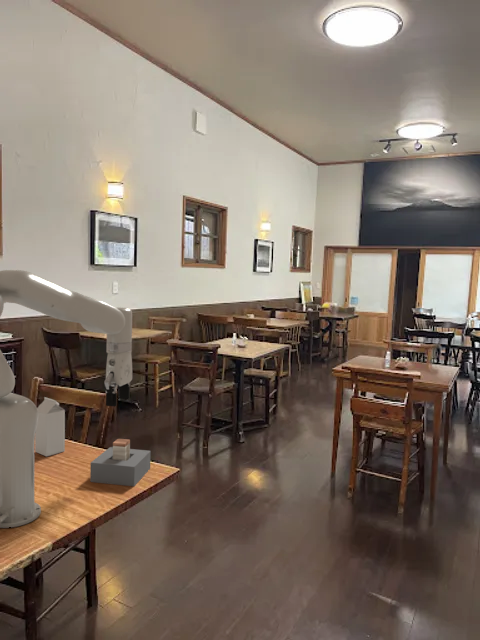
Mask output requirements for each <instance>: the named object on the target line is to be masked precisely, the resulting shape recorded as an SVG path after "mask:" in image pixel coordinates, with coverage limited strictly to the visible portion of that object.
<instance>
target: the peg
mask: <svg viewBox="0 0 480 640" xmlns="http://www.w3.org/2000/svg"><path fill="white" fill-rule="evenodd" d="M112 447H113V460H124V461H127V460H129V459H130V449H131V439H126V438H125V439H124V438H117V439H115V441H113V442H112Z"/></svg>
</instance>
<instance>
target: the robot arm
mask: <svg viewBox="0 0 480 640" xmlns="http://www.w3.org/2000/svg"><path fill="white" fill-rule="evenodd" d="M6 303H9V304H17V305H20V306H23V307H25V308H28V309H30V310H33V311H36V312H39V313H42V314H44V315H45V316H47V317H50V318H53V319H57V320H61V321H65V322H70V323H71V322H72V323H78V324H80V326H81V327H82V328H83V329H84V330H86V331H87V332H91V333H94V334H95V333H97V334H104V335H105V334H106V354H107V357H106V364H105V365H106V367H105V380H104V381H103V382H104V389H105V391H104V392H105V406H106V407H117V405H118V403H117V402H118V399H117V397H119V399H124V400H129V399H130V397H131V396H130V392H131V391H130V389H131V387H130V386H131V381H132V380H133V359H132V358H133V357H132V351H133V350H132V348H133V347H132V344H133V343H132V342H133V338H132V336H133V334H132V333H133V311H132V309H131V308H128V307H115V306H112V305H110V304H108V303H106V302H104V301H101V300H98V299H97V298H93V297H90V296H88V295H84V294H83V293H82V294H81V293H79V292H77V291H73V290H71V289H68V288H66V287H63V286H61V285H59V284H56V283H54V282H52V281H49V280H48V279H46V278H43V277H41V276H39V275H36V274H35V273H32V272H29V271H27V270H19V269H17V270H14V269H8V270H7V269H6V270H5V269H3V270H0V317H1V316H2V314H3V311H4V308H5V307H4V304H6ZM15 385H16V379H15V375H14V372H13V370H12V368H11V367H10V364H9V363H8V361H7V359H6V357H5V355H4V354H3V351H2V350H1V349H0V528H1V529H9V527H11V528H17V527H20V526H24V525H27V524H29V523H31V522H33V521H34V520H36V519H38V518H39V516H40V515H41V514H42V513H41V512H42V508H41V505H40V504H39V503H38V502H35V431H36V426H37V421H38V410H37V408H38V407H37V405H36V404H35V402H33V401H32V400H31V399H30V398H29V397H27V396H24V395H20V394H17V393H14V392H13V390H14V388H15ZM118 387H119V393H116V392H117V389H118ZM118 394H119V396H118Z"/></svg>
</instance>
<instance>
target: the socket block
mask: <svg viewBox="0 0 480 640" xmlns="http://www.w3.org/2000/svg"><path fill="white" fill-rule="evenodd" d="M150 469H151V450H146V449H134V448H130V459H129V460H127V461H124V460H113V446H110V447H108V448H107V449H105V451H103V452H102V453H101V454H100V455H98V456H97V457H96V458H95V459H93V460H92V461H91V462H90V471H89V472H90V474H89V475H90V478H89V479H90V482H91V483H98V484H107V485H118V486H127V487H135V486H137V484H138V483H139V482H140V481H141V479H143V477H144V476H145V475H147V473H148V472H149V471H150ZM148 470H149V471H148Z"/></svg>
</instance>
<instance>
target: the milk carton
mask: <svg viewBox="0 0 480 640" xmlns="http://www.w3.org/2000/svg"><path fill="white" fill-rule="evenodd" d="M43 398H44V400H43V401H42V402H41V403H40V404H39V405H38V407H37V410H38V421H37V426H36V431H35V441H34V453H37V454H40V455H42V456H45V457H50V456H53V455H57V454H60V453H62V452H65V450H66V448H65V446H66V445H65V443H66V438H65V437H66V432H65V431H66V429H65V428H66V414H65V412H66V410H65V409H64V408H63V407H61V406H60V403H59V402H57V400H55V399H52V398H48V397H45V396H44V397H43Z"/></svg>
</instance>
